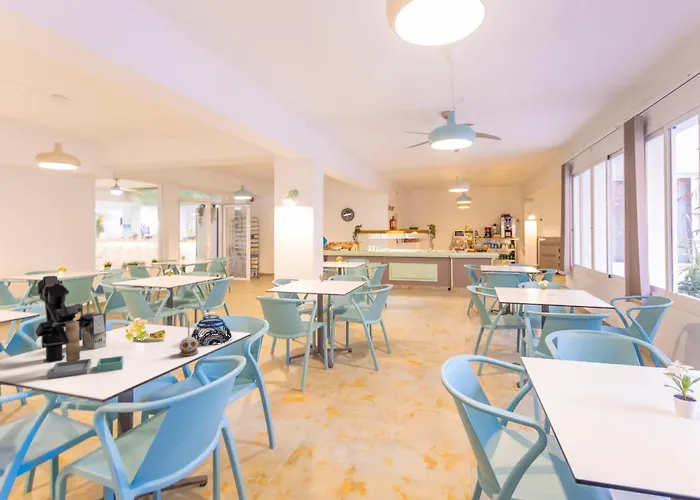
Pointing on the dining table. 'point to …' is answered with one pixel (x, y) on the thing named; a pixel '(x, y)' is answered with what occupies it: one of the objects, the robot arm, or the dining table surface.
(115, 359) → the teal square frame
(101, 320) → the coffee box
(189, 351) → the decorative ornament
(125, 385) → the dining table surface
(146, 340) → the pizza slice
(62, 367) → the tray
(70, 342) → the brown tall rounded cylinder
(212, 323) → the decorative bowl
